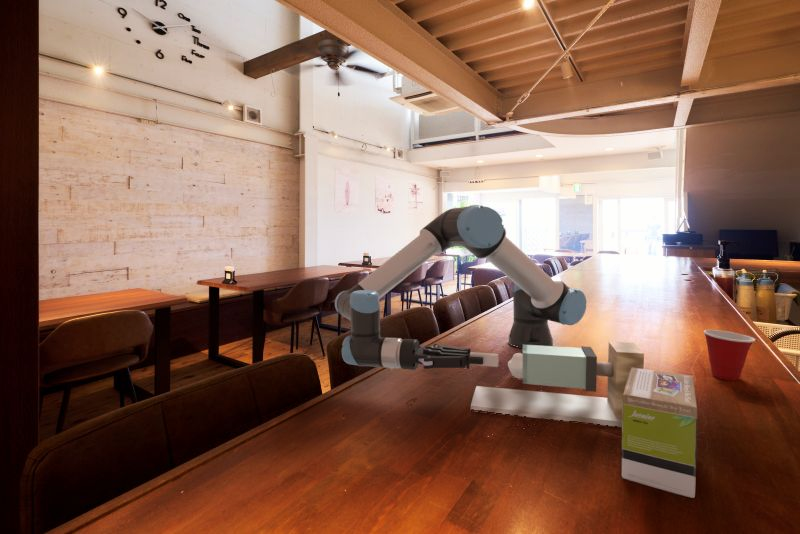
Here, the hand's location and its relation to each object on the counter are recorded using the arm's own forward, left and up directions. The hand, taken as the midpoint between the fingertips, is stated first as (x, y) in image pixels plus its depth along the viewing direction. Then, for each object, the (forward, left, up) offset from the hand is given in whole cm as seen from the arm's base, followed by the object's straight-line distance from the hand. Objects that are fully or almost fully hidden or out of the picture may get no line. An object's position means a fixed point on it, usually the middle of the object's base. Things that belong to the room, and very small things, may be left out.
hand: (498, 360), depth 93 cm
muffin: (-7, +18, -11) cm, 22 cm away
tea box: (+34, +2, -11) cm, 35 cm away
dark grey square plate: (+15, +12, -4) cm, 20 cm away
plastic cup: (+28, +61, -11) cm, 67 cm away
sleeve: (+9, +8, -4) cm, 13 cm away
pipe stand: (+10, +8, -10) cm, 16 cm away
